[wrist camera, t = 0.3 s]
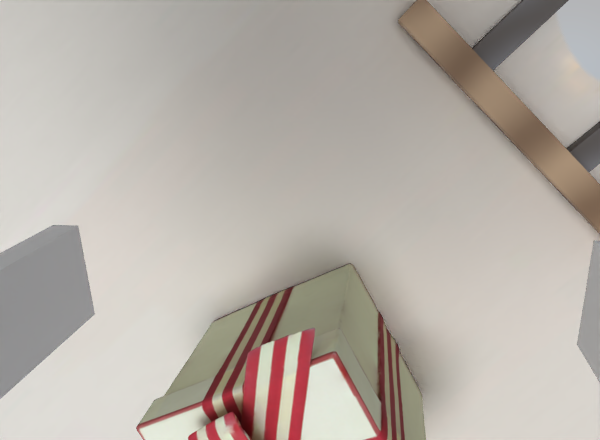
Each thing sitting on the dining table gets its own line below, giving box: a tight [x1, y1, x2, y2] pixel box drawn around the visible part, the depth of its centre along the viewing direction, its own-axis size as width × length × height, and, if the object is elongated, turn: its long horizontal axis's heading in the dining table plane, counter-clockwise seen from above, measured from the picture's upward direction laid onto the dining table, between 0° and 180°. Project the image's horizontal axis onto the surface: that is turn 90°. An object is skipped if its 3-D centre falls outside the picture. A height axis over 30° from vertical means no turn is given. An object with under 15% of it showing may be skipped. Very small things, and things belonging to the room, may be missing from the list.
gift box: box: [136, 263, 426, 440], centre depth 38 cm, size 17×18×17 cm
